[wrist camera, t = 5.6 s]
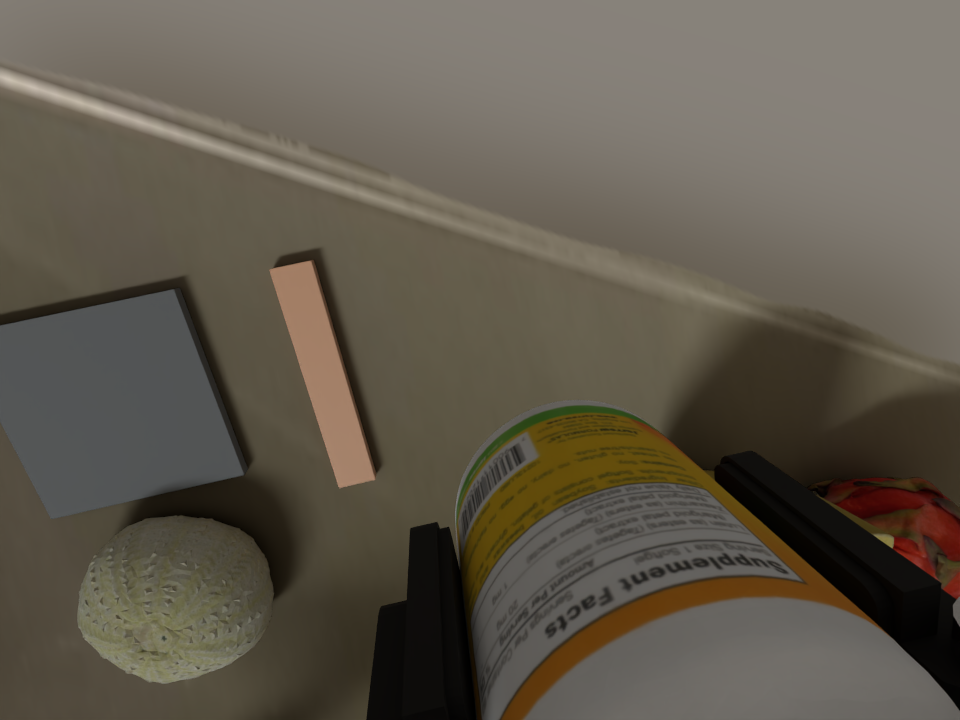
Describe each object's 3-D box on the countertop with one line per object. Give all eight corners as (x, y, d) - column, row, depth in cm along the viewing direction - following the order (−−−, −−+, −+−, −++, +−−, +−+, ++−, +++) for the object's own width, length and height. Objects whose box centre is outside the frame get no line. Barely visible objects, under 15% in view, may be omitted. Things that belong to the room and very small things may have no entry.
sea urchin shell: (102, 488, 24) (162, 613, 20) (250, 476, 31) (318, 569, 27) (42, 629, 26) (86, 770, 22) (194, 589, 33) (250, 692, 29)
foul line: (376, 474, 28) (375, 479, 27) (340, 482, 28) (339, 487, 27) (313, 259, 24) (311, 260, 24) (272, 268, 24) (269, 269, 24)
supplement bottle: (672, 576, 13) (1308, 1484, 4) (466, 609, 13) (587, 1733, 3) (675, 379, 11) (1764, 1065, 2) (440, 409, 11) (532, 1424, 2)
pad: (248, 469, 27) (244, 474, 26) (59, 512, 26) (51, 519, 26) (179, 287, 24) (173, 289, 23) (-34, 332, 24) (-46, 335, 23)
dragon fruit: (892, 535, 35) (739, 473, 34) (1026, 485, 29) (842, 408, 28) (935, 670, 30) (754, 600, 29) (1114, 646, 23) (886, 554, 23)
